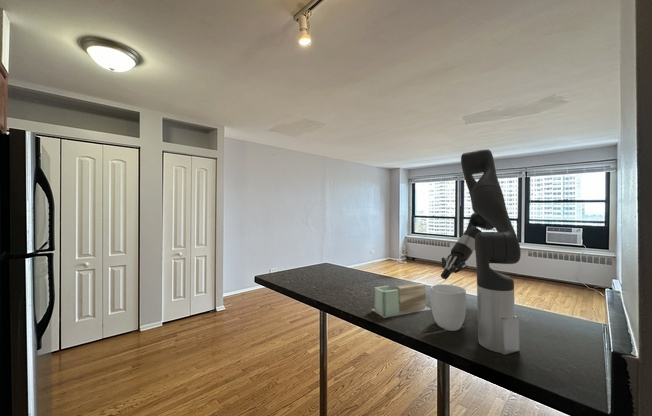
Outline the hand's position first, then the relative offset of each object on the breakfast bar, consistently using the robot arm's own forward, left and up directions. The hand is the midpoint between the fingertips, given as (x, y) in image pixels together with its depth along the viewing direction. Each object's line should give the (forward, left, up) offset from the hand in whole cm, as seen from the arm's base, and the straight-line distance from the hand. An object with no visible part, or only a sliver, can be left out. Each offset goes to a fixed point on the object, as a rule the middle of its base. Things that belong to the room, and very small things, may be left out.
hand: (443, 278), depth 112 cm
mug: (-18, +14, -11) cm, 26 cm away
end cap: (0, +28, -10) cm, 30 cm away
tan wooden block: (0, +17, -10) cm, 20 cm away
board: (0, +21, -11) cm, 24 cm away
